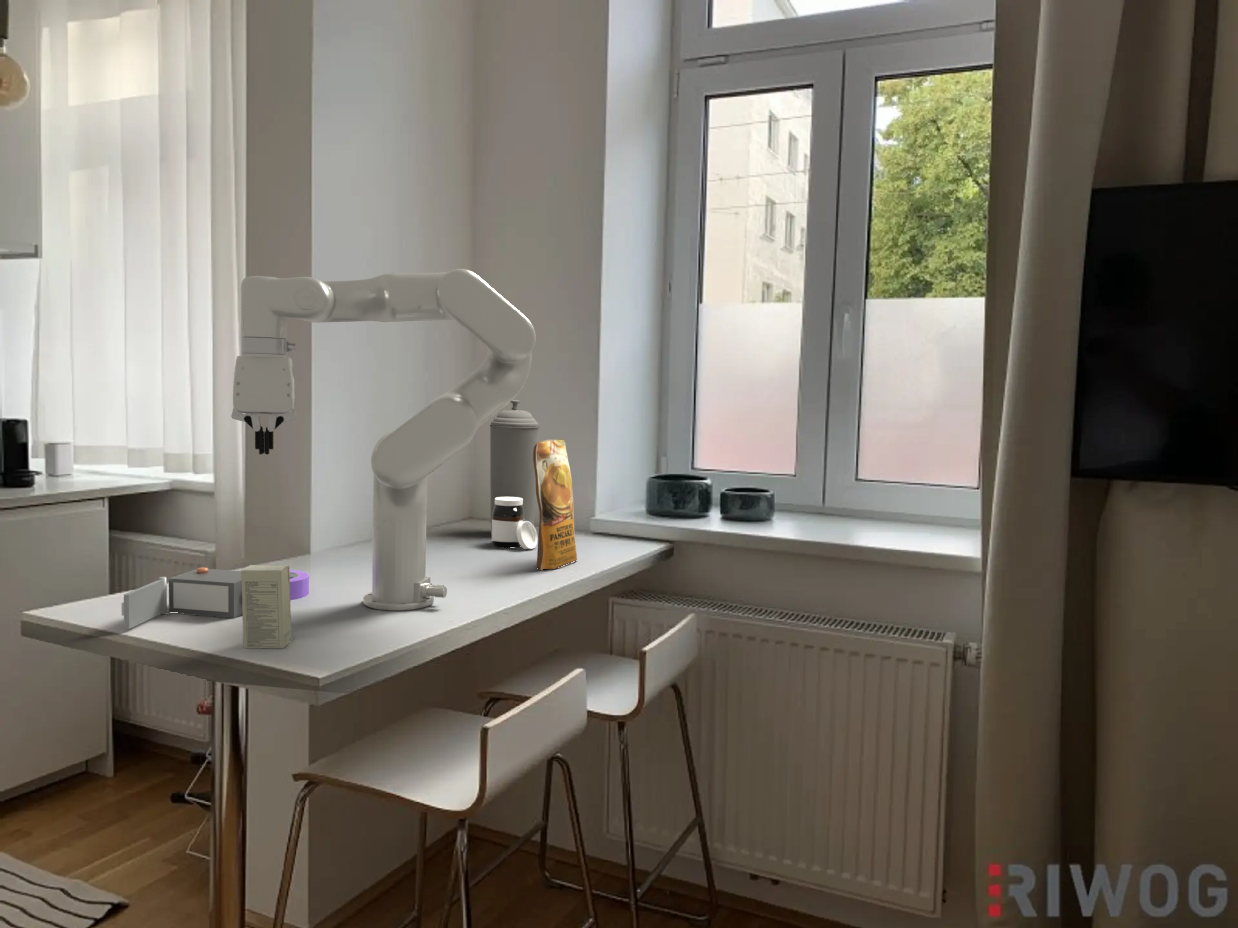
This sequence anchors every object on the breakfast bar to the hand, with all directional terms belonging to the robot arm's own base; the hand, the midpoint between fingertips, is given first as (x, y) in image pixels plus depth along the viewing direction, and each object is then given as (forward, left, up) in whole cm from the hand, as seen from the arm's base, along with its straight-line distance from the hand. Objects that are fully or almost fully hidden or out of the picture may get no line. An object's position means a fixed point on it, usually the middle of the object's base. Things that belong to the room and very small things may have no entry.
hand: (264, 453), depth 175 cm
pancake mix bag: (-41, -52, -27) cm, 72 cm away
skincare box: (-13, +23, -27) cm, 38 cm away
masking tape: (+2, -8, -28) cm, 29 cm away
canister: (-22, -86, -27) cm, 93 cm away
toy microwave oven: (+6, +6, -27) cm, 28 cm away
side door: (+12, +16, -27) cm, 34 cm away
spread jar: (-27, -70, -27) cm, 80 cm away
